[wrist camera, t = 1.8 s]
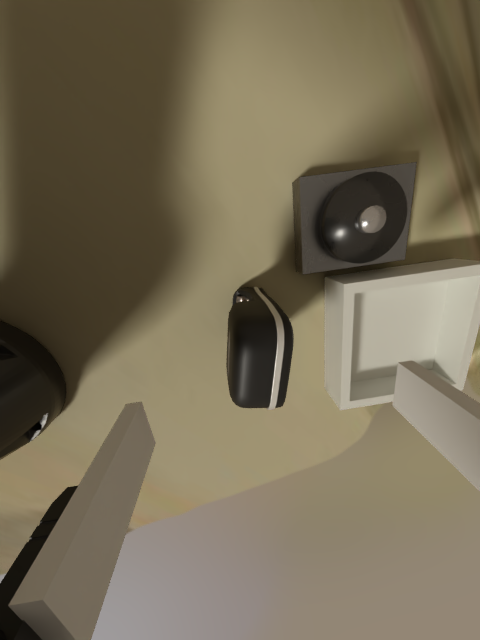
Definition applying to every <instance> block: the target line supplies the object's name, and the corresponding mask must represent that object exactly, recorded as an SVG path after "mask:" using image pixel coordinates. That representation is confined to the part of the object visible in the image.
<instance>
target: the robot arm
mask: <svg viewBox="0 0 480 640" xmlns="http://www.w3.org/2000/svg"><path fill="white" fill-rule="evenodd" d="M65 396H66V387H65V381H64V378H63V375H62V372H61V370H60V368H59V366H58V365H57V363H56V361H55V360H54V359H53V357H52V356H51V355H50V354H49V352H48V351H47V350H46V349H45V348H44V347H43V346H42V345H41V344H39V343H38V342H37V341H36V340H34V339H33V338H32V337H30V336H29V335H27V334H26V333H24V332H22V331H21V330H19V329H17V328H15V327H13V326H11V325H9V324H6V323H4V322H1V321H0V460H1V459H3V458H4V457H6V456H8V455H9V454H11V453H12V452H14V451H16V450H17V449H19V448H21V447H22V446H24V445H25V444H27V443H29V442H30V441H32V440H33V439H35V438H36V437H37V436H39V435H40V434H41V433H42V432H43V431H44V430H45V429H46V428H47V427H48V426H49V425H50V423H51V422H52V421H53V420H54V419H55V418H56V417H57V416H58V414H59V413H60V411H61V410H62V408H63V405H64V402H65ZM393 407H395V409H396V410H398V411H399V413H401V414H402V415H403V416H404V417H405V418H406V419H407V420H408V421H409V422H410V423H411V424H412V425H413V426H414V427H415V428H416V429H417V430H418V431H419V432H420V433H421V434H422V435H423V436H424V437H425V438H426V439H427V440H428V441H429V442H430V443H431V444H432V445H433V446H434V447H435V448H436V449H437V450H438V451H439V452H440V453H441V454H442V455H443V456H444V457H445V458H446V459H447V460H448V461H449V462H450V463H451V464H452V465H454V466H455V467H456V468H457V470H458V471H460V472H461V473H462V474H463V475H464V476H465V477H466V478H467V479H468V480H469V481H470V482H471V483H472V484H473V485H474V486H475V487H476V488H477V489H478V490H479V491H480V403H479V402H477V401H476V400H474V399H472V398H471V397H469V396H468V395H466V394H465V393H463V392H461V391H460V390H458V389H457V388H455V387H454V386H452V385H451V384H449V383H447V382H446V381H444V380H443V379H441V378H440V377H438V376H436V375H435V374H433V373H432V372H430V371H429V370H427V369H426V368H424V367H422V366H421V365H419V364H418V363H416V362H415V361H413V360H411V361H404V362H398V367H397V375H396V383H395V391H394V399H393ZM154 446H155V440H154V437H153V434H152V431H151V428H150V425H149V422H148V419H147V416H146V413H145V410H144V407H143V404H142V402H136V403H129V404H126V405H125V407H124V409H123V410H122V412H121V414H120V415H119V417H118V419H117V420H116V422H115V424H114V426H113V427H112V429H111V431H110V432H109V434H108V436H107V438H106V439H105V441H104V443H103V444H102V446H101V448H100V450H99V451H98V453H97V455H96V456H95V458H94V460H93V462H92V463H91V465H90V467H89V468H88V470H87V472H86V473H85V475H84V477H83V479H82V480H81V482H80V484H79V485H78V486H74V487H67V488H66V489H65V490H64V491H63V493H62V494H61V495H60V496H59V497H58V498H57V499H56V500H55V501H54V502H53V503H52V504H51V506H50V507H49V509H48V510H47V512H46V513H45V515H44V517H43V518H42V520H41V521H40V525H39V526H37V527H36V529H35V530H34V532H33V534H32V535H31V537H30V540H29V542H27V543H26V544H25V546H24V548H23V549H22V551H21V552H20V554H19V555H18V557H17V558H16V560H15V561H14V563H13V565H12V566H11V568H10V569H9V571H8V572H7V574H6V575H5V577H4V579H3V580H2V582H1V583H0V640H91V638H92V634H93V632H94V629H95V625H96V623H97V620H98V617H99V613H100V611H101V607H102V604H103V601H104V598H105V595H106V592H107V589H108V586H109V583H110V580H111V577H112V574H113V571H114V568H115V565H116V562H117V559H118V556H119V553H120V550H121V546H122V543H123V541H124V538H125V535H126V532H127V528H128V525H129V522H130V519H131V516H132V513H133V510H134V507H135V504H136V501H137V498H138V495H139V492H140V489H141V486H142V483H143V480H144V477H145V474H146V471H147V468H148V465H149V462H150V459H151V456H152V452H153V449H154Z"/></svg>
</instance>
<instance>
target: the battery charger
mask: <svg viewBox="0 0 480 640" xmlns="http://www.w3.org/2000/svg"><path fill="white" fill-rule="evenodd" d="M292 351H293V329H292V325H291V322H290V321H289V319H288V317H287V316H286V314H285V313H284V312H283V310H282V309H281V308H280V307H279V306H278V305H277V303H275V302H274V301H273V300H272V299H271V298H270V297H269V296H268V295H267V294H266V293H265V291H264V290H263V289H262V288H258V287H253V288H249V287H247V288H241V289H239V290H237V291H236V292H235V293H234V296H233V306H232V308H231V310H230V312H229V318H228V342H227V363H226V364H227V377H228V385H229V392H230V396H231V398H232V401H233V402H234V403H235V404H236V405H237V406H239V407H242V408H266V409H268V410H269V409H275V408H278V407H281V406H283V404H284V402H285V398H286V392H287V386H288V380H289V373H290V366H291V359H292Z"/></svg>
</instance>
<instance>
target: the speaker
mask: <svg viewBox="0 0 480 640" xmlns="http://www.w3.org/2000/svg"><path fill="white" fill-rule="evenodd" d="M416 163H417V162H414V163H406V164H398V165H390V166H383V167H375V168H367V169H360V170H352V171H344V172H336V173H329V174H321V175H313V176H306V177H299V178H298V179H297V180H295V181H294V182H293V183H292V186H293V209H294V233H295V256H296V272H299V273H301V274H309V273H316V272H322V271H329V270H336V269H343V268H350V267H357V266H364V265H371V264H378V263H385V262H392V261H399V260H405V255H406V247H407V238H408V230H409V221H410V213H411V205H412V196H413V188H414V180H415V171H416Z"/></svg>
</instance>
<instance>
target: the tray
mask: <svg viewBox="0 0 480 640" xmlns="http://www.w3.org/2000/svg"><path fill="white" fill-rule="evenodd" d="M479 325H480V261H477V260H465V259H454V258H452V259H446V260H439V261H432V262H425V263H418V264H411V265H404V266H397V267H390V268H383V269H376V270H370V271H363V272H356V273H349V274H342V275H335V276H328V277H325V389H326V390H327V392H328V393H329V395H330V396H331V398H332V399H333V401H334V402H335V403H336V405H337V406H338V408H339V409H340V410H345V409H351V408H357V407H363V406H369V405H375V404H382V403H388V402H393V399H394V391H395V383H396V375H397V367H398V362H404V361H411V360H413V361H415V362H416V363H418V364H419V365H421V366H422V367H424V368H426V369H427V370H429V371H430V372H432V373H433V374H435V375H436V376H438V377H440V378H441V379H443V380H444V381H446V382H447V383H449V384H451V385H452V386H454V387H455V388H457V389H458V390H460V391H461V390H463V388H464V383H465V380H466V376H467V372H468V368H469V364H470V360H471V356H472V352H473V348H474V344H475V340H476V336H477V332H478V329H479Z"/></svg>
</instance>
